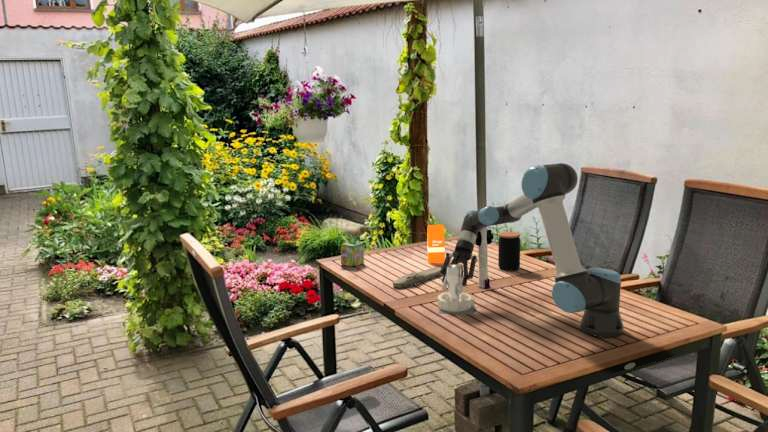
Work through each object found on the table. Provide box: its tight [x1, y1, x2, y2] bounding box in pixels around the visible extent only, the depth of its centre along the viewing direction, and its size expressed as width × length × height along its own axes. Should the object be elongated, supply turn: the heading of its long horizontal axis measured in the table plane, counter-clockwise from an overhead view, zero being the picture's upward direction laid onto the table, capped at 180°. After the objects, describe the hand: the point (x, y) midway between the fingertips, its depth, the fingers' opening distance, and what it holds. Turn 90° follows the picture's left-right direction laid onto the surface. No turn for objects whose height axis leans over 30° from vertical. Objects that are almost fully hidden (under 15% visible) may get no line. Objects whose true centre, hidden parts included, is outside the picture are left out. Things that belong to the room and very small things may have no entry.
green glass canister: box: [340, 236, 365, 267], centre depth 318 cm, size 9×9×15 cm
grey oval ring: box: [438, 299, 475, 315], centre depth 249 cm, size 18×14×1 cm
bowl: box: [437, 291, 473, 312], centre depth 248 cm, size 14×14×4 cm
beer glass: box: [446, 263, 464, 302], centre depth 247 cm, size 7×7×15 cm
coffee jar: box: [498, 231, 521, 272], centre depth 301 cm, size 11×11×18 cm
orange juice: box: [426, 224, 446, 264], centre depth 319 cm, size 8×9×20 cm
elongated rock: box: [392, 266, 443, 289], centre depth 288 cm, size 35×5×10 cm
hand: (451, 290), depth 244 cm, fingers closed on beer glass, 6 cm apart
